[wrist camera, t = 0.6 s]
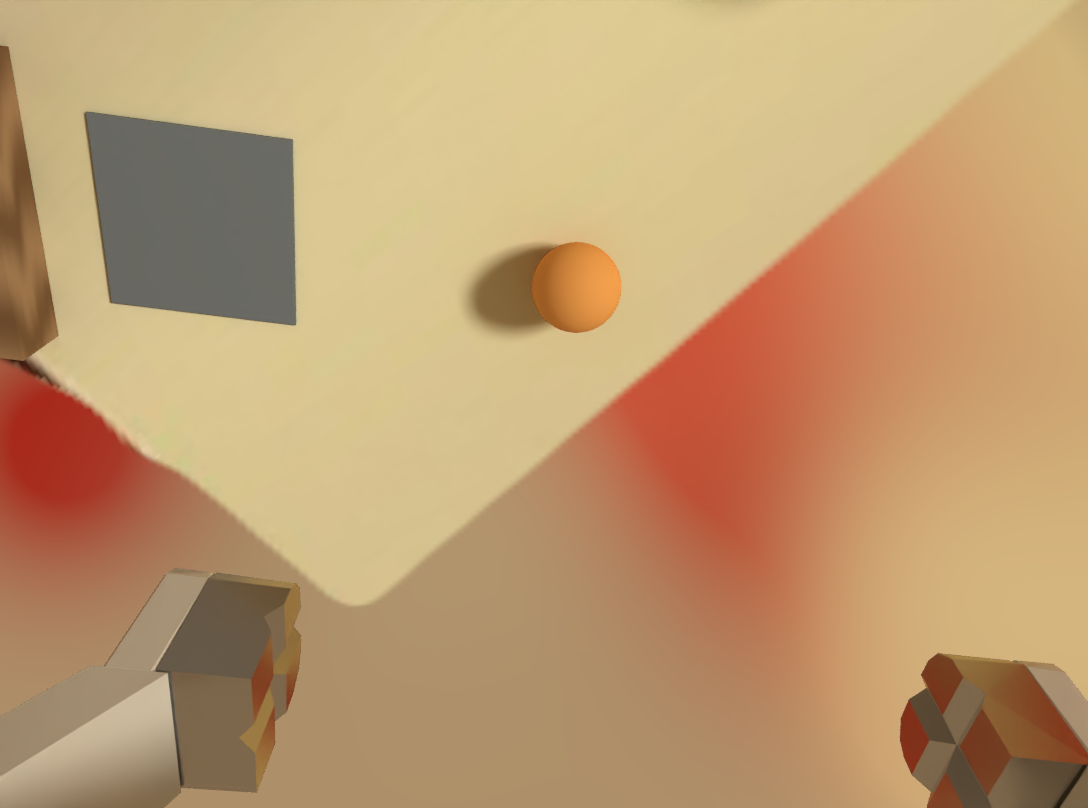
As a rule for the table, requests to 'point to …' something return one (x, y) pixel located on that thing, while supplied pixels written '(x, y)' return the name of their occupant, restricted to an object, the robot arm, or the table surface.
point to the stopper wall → (19, 238)
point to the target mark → (196, 217)
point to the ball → (576, 287)
